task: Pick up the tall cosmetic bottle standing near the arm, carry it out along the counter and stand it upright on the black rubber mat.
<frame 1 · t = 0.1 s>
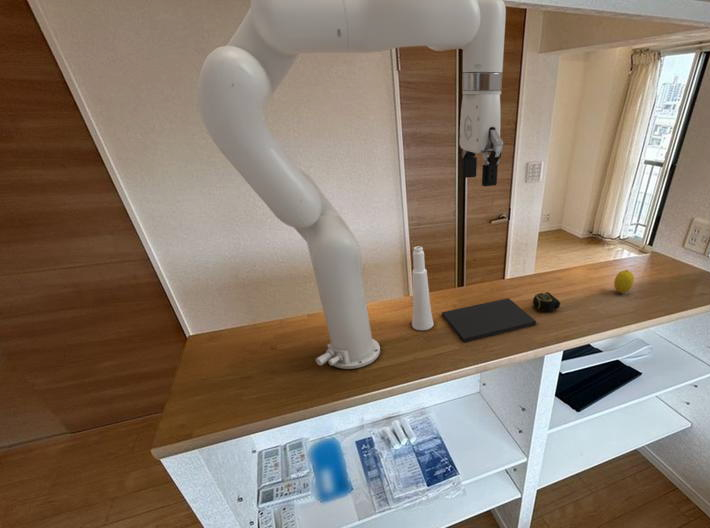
hand: (478, 181, 81), 37 cm above the counter, tool pointing down, fingers open, 9 cm apart
cosmetic bottle: (422, 325, 102), on the counter
lemon: (620, 293, 119), on the counter
tape measure: (545, 307, 111), on the counter
mat: (487, 320, 105), on the counter
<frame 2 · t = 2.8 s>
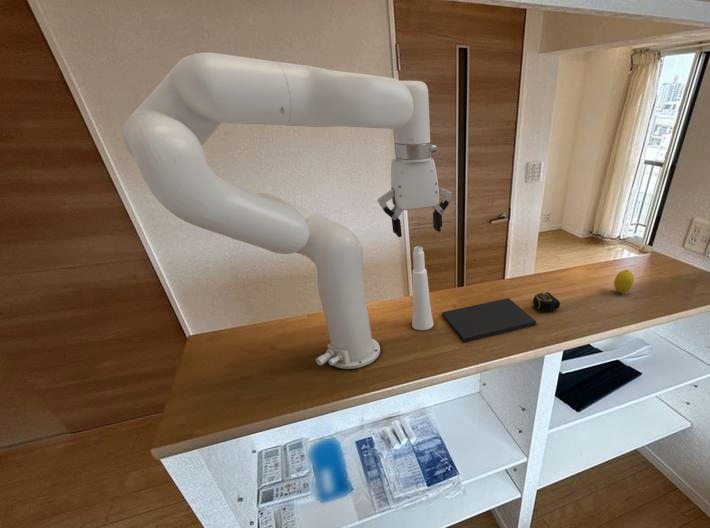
hand: (418, 232, 88), 26 cm above the counter, tool pointing down, fingers open, 9 cm apart
nothing on the counter moved.
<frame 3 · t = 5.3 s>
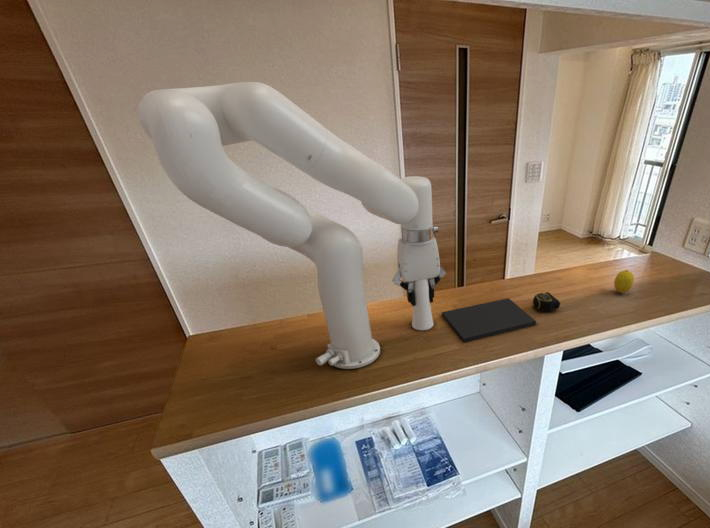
hand: (421, 301, 98), 7 cm above the counter, tool pointing down, fingers closed on cosmetic bottle, 4 cm apart
cosmetic bottle: (422, 325, 102), on the counter, touching gripper
everything else where it was.
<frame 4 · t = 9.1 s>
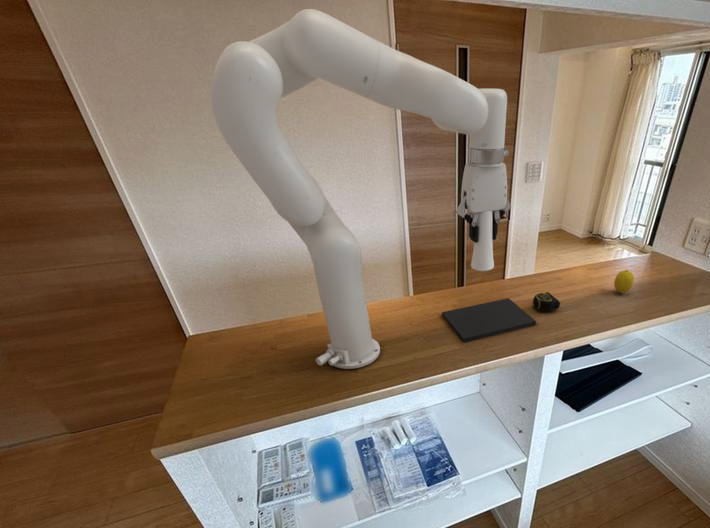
hand: (483, 238, 91), 23 cm above the counter, tool pointing down, fingers closed on cosmetic bottle, 4 cm apart
cosmetic bottle: (482, 267, 95), point 16 cm above the counter, touching gripper
everything else where it was.
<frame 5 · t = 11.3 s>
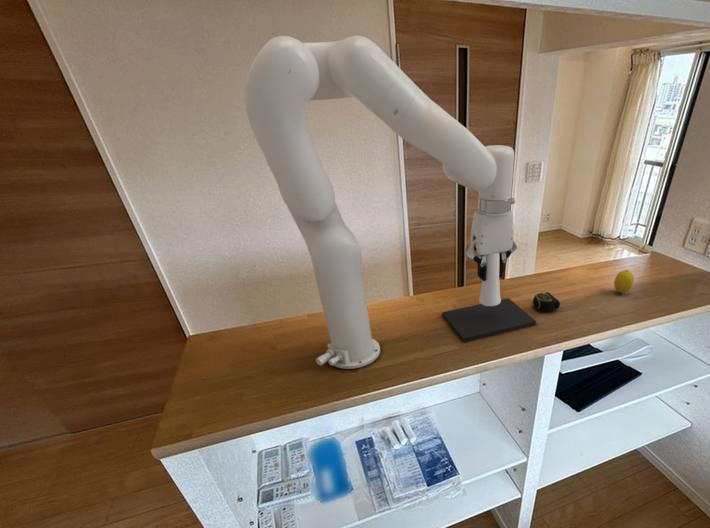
hand: (490, 276, 97), 13 cm above the counter, tool pointing down, fingers closed on cosmetic bottle, 4 cm apart
cosmetic bottle: (489, 301, 101), point 6 cm above the counter, touching gripper
everything else where it was.
when the fingers open (9 cm above the counter, at t = 12.9 s): cosmetic bottle stays where it is, resting on mat.
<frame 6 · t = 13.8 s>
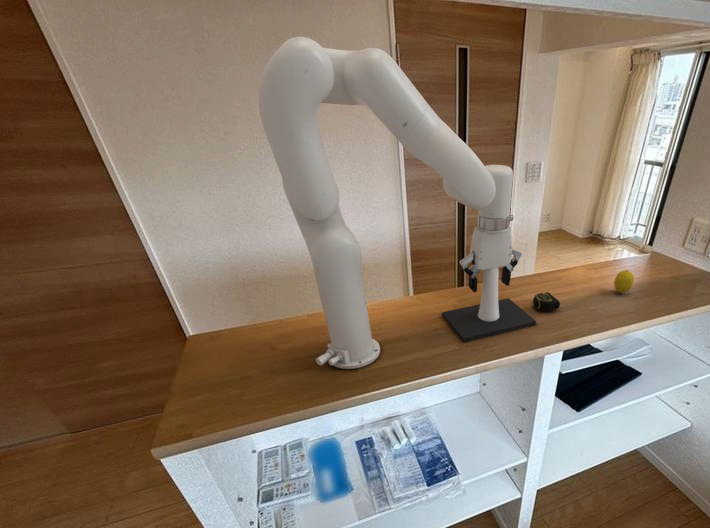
hand: (489, 286, 99), 10 cm above the counter, tool pointing down, fingers open, 9 cm apart
cosmetic bottle: (488, 316, 104), point 1 cm above the counter, touching mat
everything else where it was.
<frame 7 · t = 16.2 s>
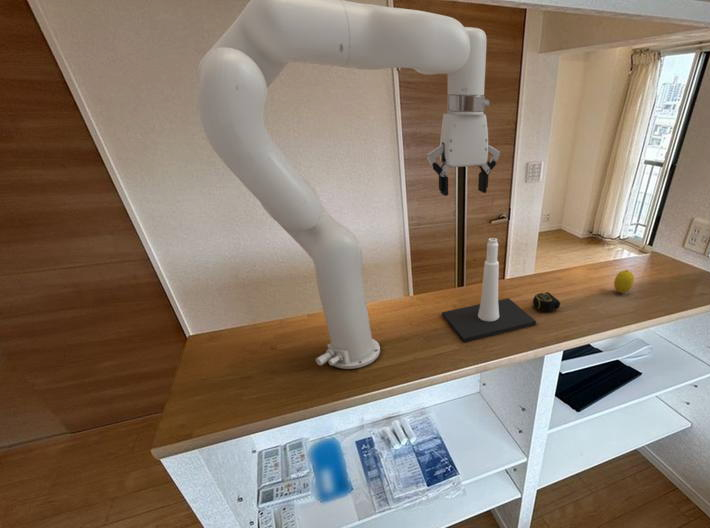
hand: (463, 193, 86), 34 cm above the counter, tool pointing down, fingers open, 9 cm apart
nothing on the counter moved.
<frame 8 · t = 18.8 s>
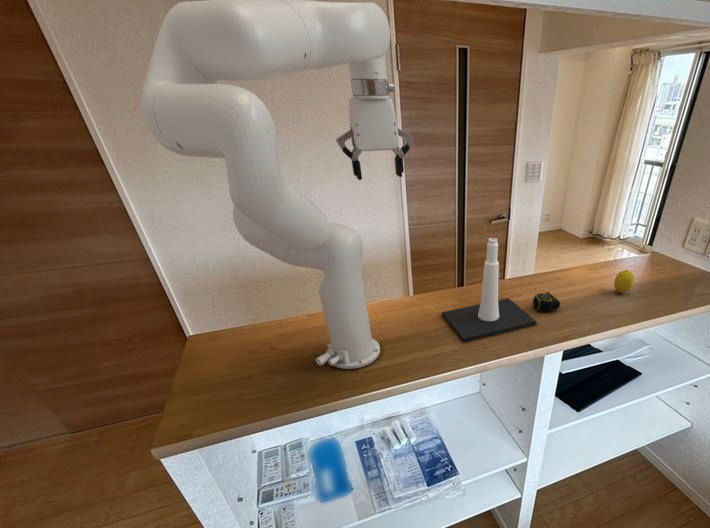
hand: (379, 177, 88), 36 cm above the counter, tool pointing down, fingers open, 9 cm apart
nothing on the counter moved.
at the end: cosmetic bottle inside the target area on the mat (0.2 cm from its centre), point 1.0 cm above the mat's base; cosmetic bottle tilted 0°; the gripper is holding nothing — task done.
